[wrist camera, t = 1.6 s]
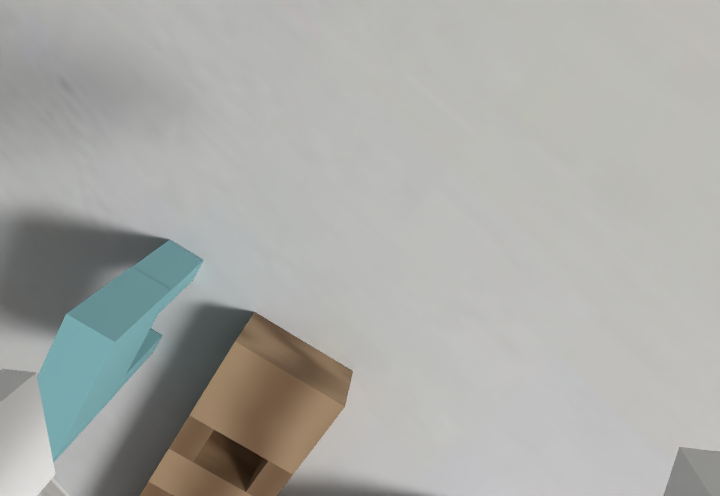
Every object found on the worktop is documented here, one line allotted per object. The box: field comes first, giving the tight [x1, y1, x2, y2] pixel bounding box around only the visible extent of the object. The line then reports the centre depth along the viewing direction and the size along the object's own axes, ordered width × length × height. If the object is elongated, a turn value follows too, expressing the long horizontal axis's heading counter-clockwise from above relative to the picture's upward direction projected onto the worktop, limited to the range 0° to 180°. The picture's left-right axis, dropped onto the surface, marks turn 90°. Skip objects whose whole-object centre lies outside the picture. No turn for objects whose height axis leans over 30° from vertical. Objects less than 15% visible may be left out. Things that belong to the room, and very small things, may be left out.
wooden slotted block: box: [140, 312, 353, 496], centre depth 39 cm, size 8×24×4 cm, turn 148°
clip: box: [37, 240, 203, 463], centre depth 32 cm, size 3×9×11 cm, turn 148°
